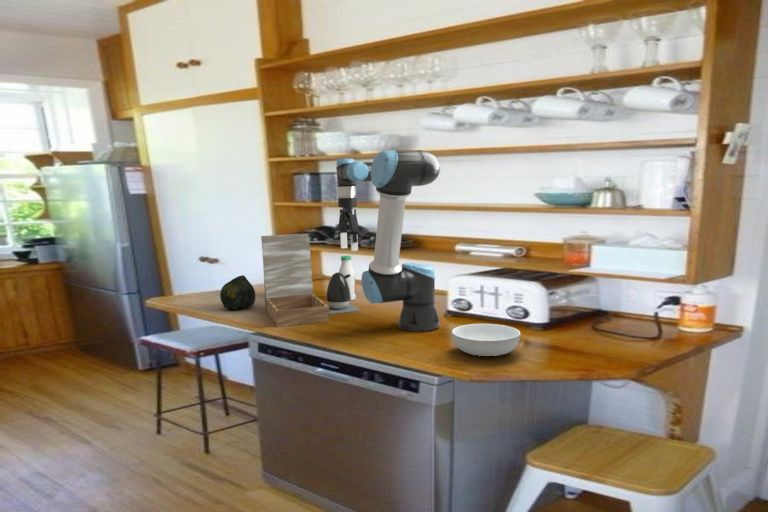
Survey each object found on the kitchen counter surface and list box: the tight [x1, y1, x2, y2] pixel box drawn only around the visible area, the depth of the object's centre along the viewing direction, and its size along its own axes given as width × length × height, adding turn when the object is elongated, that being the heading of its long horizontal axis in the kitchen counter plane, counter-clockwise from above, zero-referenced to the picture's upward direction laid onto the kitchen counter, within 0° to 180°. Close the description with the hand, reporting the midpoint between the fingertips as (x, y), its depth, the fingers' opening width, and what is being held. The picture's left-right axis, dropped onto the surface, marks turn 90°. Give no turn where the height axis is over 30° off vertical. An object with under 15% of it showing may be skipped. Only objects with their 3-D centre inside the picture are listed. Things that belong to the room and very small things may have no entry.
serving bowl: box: [451, 323, 521, 357], centre depth 172 cm, size 21×21×7 cm
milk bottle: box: [338, 255, 357, 301], centre depth 254 cm, size 8×8×20 cm
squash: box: [219, 274, 256, 310], centre depth 242 cm, size 14×15×15 cm
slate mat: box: [327, 303, 361, 315], centre depth 236 cm, size 14×14×1 cm
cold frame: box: [260, 233, 330, 328], centre depth 225 cm, size 32×20×32 cm, turn 21°
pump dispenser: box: [325, 271, 352, 309], centre depth 235 cm, size 10×10×15 cm
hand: (349, 249), depth 229 cm, fingers open, 13 cm apart
